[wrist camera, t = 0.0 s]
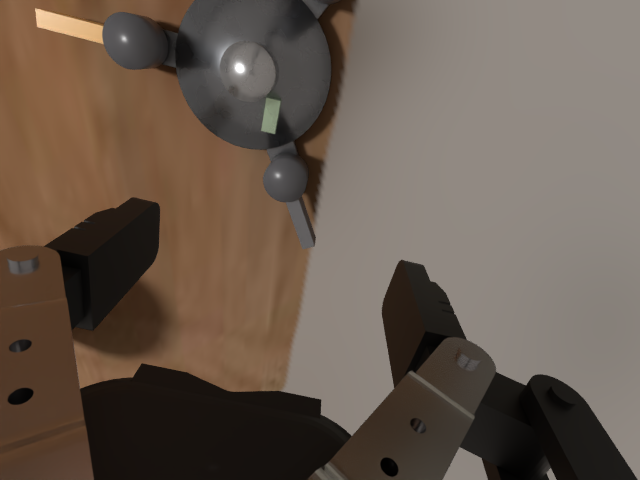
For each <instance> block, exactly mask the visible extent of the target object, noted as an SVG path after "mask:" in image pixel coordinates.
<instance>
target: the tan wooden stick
mask: <svg viewBox="0 0 640 480" xmlns="http://www.w3.org/2000/svg"><path fill="white" fill-rule="evenodd" d="M35 9H36V8H35ZM36 18H37V27H40V28H44V29H48V30H52V31H56V32H59V33H63V34H67V35H71V36H75V37H79V38H83V39H87V40H90V41H94V42H98V43H102V44H104V46H105V49H106V51H107V52H108V54H109V56H110V57H111V58H112V59H113V60H114V61H115V62H116V63H117V64H119V65H120V66H122V67H124V68H127V69H132V70H135V69H150V68H156V67H158V66H160V65H161V64H162V63H163V62H164V61H165V59H166V57H167V54H168V41H167V38H166V35H165V33H164V31H163V30H162V28H161V27H160V26H159V25H158V24H157V23H156V22H155V21H154V20H152V19H150V18H148V17H145V16H140V15H135V14H130V13H125V12H118V13H114V14H112V15H111V16H109V17H108V19H107V20H106V21H105V23H104V24H100V23H97V22H93V21H89V20H85V19H81V18H78V17H74V16H70V15H66V14H62V13H58V12H55V11H49V10H43V9H36Z"/></svg>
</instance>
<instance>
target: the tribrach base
mask: <svg viewBox="0 0 640 480" xmlns="http://www.w3.org/2000/svg"><path fill="white" fill-rule="evenodd" d="M329 5H330V4H323V3H320V2H318V1H317V0H195V1H194V2H193V3H192V5H191V6H190V7H189V9H188V10H187V12H186V14H185V16H184V18H183V20H182V23H181V25H180V28H179V32H178V33H176V32H172V31H168V30H165V29H162V30H163V31H164V33H165V35H166V38H167V41H168V54H167V57H166V59H165V61H164V62H163V63H162V64H163V65H167V66H171V67H175V68H176V71H177V76H178V80H179V84H180V87H181V90H182V92H183V95H184V97H185V99H186V101H187V103H188V105H189V107H190V108H191V110H192V111H193V113H194V114H195V115H196V117H197V118H198V119H199V120H200V122H201V123H202V124H203V125H204V126H205V127H206V128H207V129H209V130H210V131H211V132H212V133H214V134H215V135H216V136H218V137H220V138H221V139H223V140H225V141H227V142H229V143H231V144H233V145H236V146H240V147H243V148H248V149H260V150H262V149H267V152H268V155H269V158H270V160H271V161H272V160H273V159H274V158H275V157H276V156H277V155H279V154H282V153H293V154H296V155H298V156H299V153H298V150H297V147H296V144H295V141H294V140H295V139H297V138H298V137H299V136H301V135H302V134H304V133H305V132H306V131H307V130H308V129H309V128H310V127H311V125H312V124H313V123H314V122H315V120H316V119H317V117H318V116H319V114H320V112H321V111H322V109H323V106H324V104H325V102H326V99H327V95H328V92H329V87H330V81H331V57H330V52H329V47H328V43H327V40H326V37H325V34H324V32H323V30H322V28H321V26H320V24H319V22H318V21H317V20H318V19H319V18H320V16H321V15H322V14H323V13H324V11H325V10H326V9H327V8H328V6H329Z"/></svg>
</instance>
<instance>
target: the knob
mask: <svg viewBox="0 0 640 480" xmlns="http://www.w3.org/2000/svg"><path fill="white" fill-rule="evenodd" d="M308 176H309V170H308V167H307V164H306V162H305V161H304V160H303V159H302V158H301V157H300V156H298V155H296V154H293V153H282V154H279V155H277V156H276V157H275V158H274V159H273V160H272V161H271V163H270V164H269V166H268V168H267V169H266V171H265V173H264V177H263V183H264V187H265V190H266V191H267V193H268V194H269V195H270V196H271V197H272V198H274V199H275V200H277V201H280V202H286V204H287V207H288V210H289V213H290V215H291V218H292V221H293V224H294V226H295V229H296V232H297V235H298V238H299V240H300V243H301V246H302V249H306V248H310V247H314V246H315V240H316V237H315V234H314V231H313V228H312V225H311V222H310V219H309V216H308V213H307V210H306V207H305V204H304V201H303V198H302V194H303V193H304V191H305V189H306V185H307V181H308Z"/></svg>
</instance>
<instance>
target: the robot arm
mask: <svg viewBox="0 0 640 480" xmlns="http://www.w3.org/2000/svg"><path fill="white" fill-rule="evenodd" d="M159 226H160V207H159V204H158V203H156V202H151V201H147V200H143V199H138V198H134V197H133V198H130V199H129V200H128V201H126V202H125V203H123V204H122V205H120V206H119V207H117V208H116V209H114V208H110V209H107V210H104V211H100V212H97V213H95V214H93V215H91V216H90V217H88V218H87V219H85V220H84V222H81V223H79V224H78V225H76V226H75V227H74V228H71V229H70V230H68V231H67V232H65V233H64V234H62V235H61V236H59V237H58V238H56V239H55V240H53V241H51V242H50V243H48V244H47V245H45V246H44V247H43V246H30V245H29V246H17V247H12V248H8V249H4V250H1V251H0V480H442V479H443V478H444V476H445V474H446V472H447V470H448V468H449V466H450V464H451V462H452V460H453V458H454V456H455V454H456V453H457V451H458V449H459V447H461V448H463V449H465V450H467V451H469V452H471V453H473V454H475V455H477V456H479V457H481V458H482V461H483V464H484V468H485V471H486V474H487V477H488V480H549V478H548V476H547V474H546V473H547V471H548V470H549V469H550V468H551V469H552V471H553V473H554V475H555V477H556V479H557V480H637V478H636V477H635V475H634V473H633V472H632V470H631V469H630V467H629V466H628V464H627V463H626V462H625V460H624V458H623V457H622V455H621V454H620V452H619V451H618V449H617V448H616V446H615V445H614V443H613V442H612V440H611V439H610V437H609V435H608V434H607V432H606V431H605V430H604V428H603V427H602V425H601V423H600V422H599V420H598V419H597V417H596V416H595V414H594V413H593V411H592V410H591V408H590V407H589V405H588V404H587V402H586V401H585V400H584V399H583V398H582V397H581V396H580V395H579V394H578V393H577V392H576V391H575V390H573V389H572V388H571V387H569V386H568V385H567V384H565V383H563V382H562V381H560V380H558V379H555V378H553V377H550V376H547V375H535V376H533V377H532V378H531V379H530V380H529V382H528V383H527V385H523V384H521V383H519V382H516V381H514V380H512V379H510V378H508V377H505V376H503V375H501V374H499V373H497V372H496V366H495V364H494V362H493V360H492V358H491V357H490V356H489V355H488V354H487V353H486V352H485V351H484V350H483V349H482V348H480V347H479V346H477V345H476V344H474V343H472V342H470V341H468V340H467V339H466V337H465V335H464V333H463V330H462V328H461V326H460V324H459V321H458V319H457V317H456V315H455V314H454V311H453V308H452V306H451V305H450V302H449V299H448V297H447V295H446V293H445V292H444V291H443V290H442V289H441V288H440V287H439V286H438V285H437V284H436V283H435V282H431V281H430V280H429V277H428V275H427V272H426V270H425V267H424V266H423V265H421V264H417V263H412V262H408V261H404V260H401V261H399V263H398V265H397V267H396V269H395V272H394V274H393V277H392V279H391V282H390V285H389V287H388V290H387V292H386V295H385V298H384V301H383V307H382V318H383V324H384V330H385V336H386V341H387V348H388V354H389V359H390V365H391V371H392V377H393V383H394V389H393V390H392V392H391V393H390V394H389V395H388V396H387V397H386V398H385V400H384V401H383V402H382V403H381V404H380V405H379V406H378V407H377V408H376V410H375V411H374V412H373V413H372V414H371V415H370V416H369V418H368V419H367V420H366V421H365V422H364V423H363V424H362V425H361V426H360V428H359V429H358V430H357V431H356V432H355V433H354V434H353V436H351V435H350V434H349V433H348V432H347V431H346V430H345V429H343V428H342V427H341V426H339V425H338V424H337V423H335V422H333V421H332V420H330V419H328V418H326V417H325V416H322V415H320V414H321V400H320V399H315V398H310V397H305V396H300V395H296V394H291V393H285V392H281V391H256V392H230V391H227V390H224V389H222V388H220V387H218V386H215V385H213V384H211V383H209V382H207V381H204V380H202V379H200V378H198V377H196V376H193V375H191V374H189V373H187V372H182V371H177V370H172V369H167V368H162V367H157V366H152V365H147V364H141V366H140V367H139V369H138V370H137V372H136V373H135V375H134V377H133V378H120V379H113V380H108V381H103V382H99V383H96V384H92V385H89V386H86V387H84V388H81V389H80V385H79V378H78V372H77V365H76V358H75V351H74V344H73V337H72V329H73V328H74V327H78V328H82V329H87V330H92V331H93V330H94V329H95V328H96V327H97V326H98V325H99V323H100V322H101V321H102V320H103V319H104V318H105V317H106V316H107V314H108V313H109V312H110V311H111V310H112V309H113V308H114V307H115V305H116V304H117V303H118V302H119V301H120V300H121V299H122V298H123V296H124V295H125V294H126V293H127V292H128V291H129V290H130V289H131V287H132V286H133V285H134V284H135V283H136V282H137V281H138V280H139V278H140V277H141V276H142V275H143V274H144V273H145V272H146V271H147V269H148V268H149V267H150V266H151V265H152V264H153V262H154V260H155V258H156V256H157V253H158V248H159Z"/></svg>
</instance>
